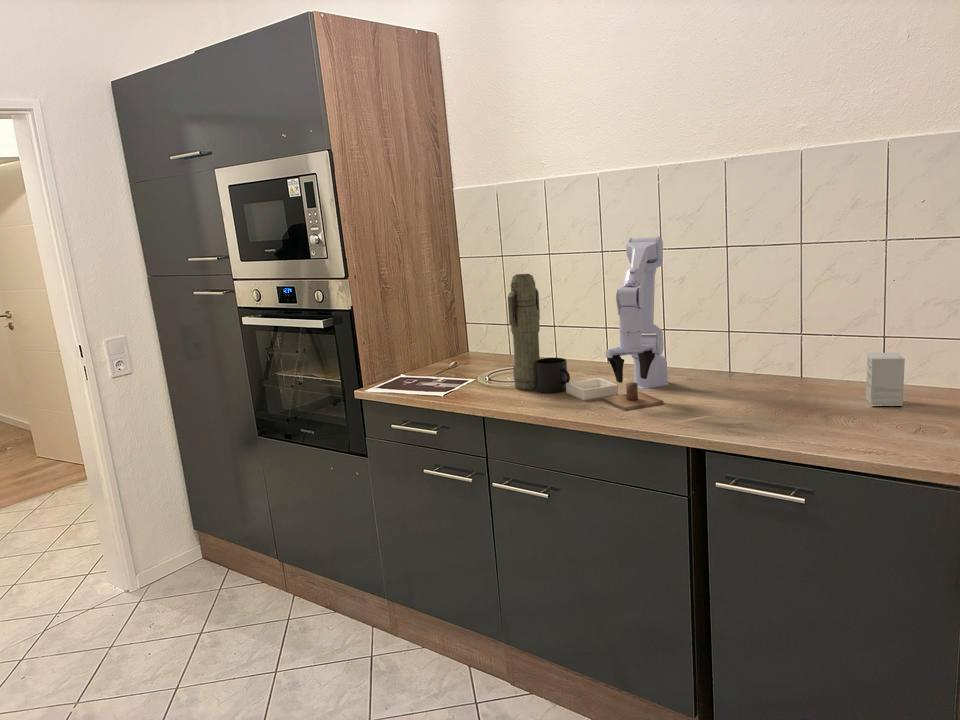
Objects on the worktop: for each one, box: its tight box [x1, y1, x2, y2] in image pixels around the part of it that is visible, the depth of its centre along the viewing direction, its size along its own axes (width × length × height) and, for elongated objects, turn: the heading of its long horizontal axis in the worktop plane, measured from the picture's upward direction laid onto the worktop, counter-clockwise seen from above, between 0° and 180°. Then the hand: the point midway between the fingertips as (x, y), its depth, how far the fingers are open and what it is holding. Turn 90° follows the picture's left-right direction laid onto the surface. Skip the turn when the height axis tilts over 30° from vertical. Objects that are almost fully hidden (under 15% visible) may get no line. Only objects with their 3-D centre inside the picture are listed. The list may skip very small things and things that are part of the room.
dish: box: [565, 377, 619, 402], centre depth 214 cm, size 11×11×4 cm
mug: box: [535, 357, 571, 394], centre depth 222 cm, size 9×12×9 cm
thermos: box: [507, 273, 541, 391], centre depth 226 cm, size 9×12×35 cm
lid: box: [601, 381, 664, 411], centre depth 202 cm, size 12×12×5 cm
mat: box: [599, 399, 666, 412], centre depth 203 cm, size 13×13×1 cm
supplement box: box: [865, 352, 906, 407], centre depth 186 cm, size 7×7×13 cm
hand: (631, 380), depth 201 cm, fingers open, 7 cm apart
